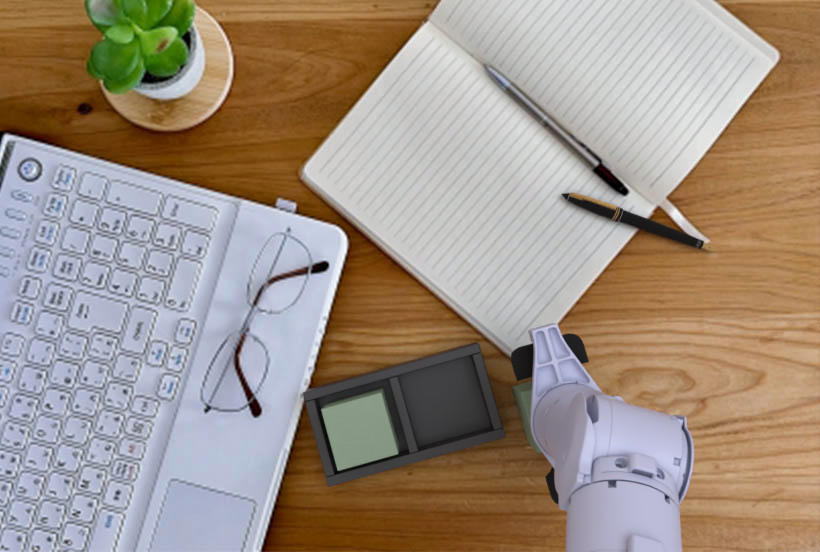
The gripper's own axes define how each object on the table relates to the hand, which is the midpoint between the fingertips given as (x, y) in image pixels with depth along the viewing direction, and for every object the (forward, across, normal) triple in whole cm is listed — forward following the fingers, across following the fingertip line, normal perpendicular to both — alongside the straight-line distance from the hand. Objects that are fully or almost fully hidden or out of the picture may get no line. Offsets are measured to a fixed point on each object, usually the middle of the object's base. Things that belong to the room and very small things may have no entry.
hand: (551, 408), depth 69 cm
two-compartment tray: (+2, +3, +12) cm, 12 cm away
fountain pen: (+2, +13, -12) cm, 18 cm away
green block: (+2, 0, 0) cm, 2 cm away
